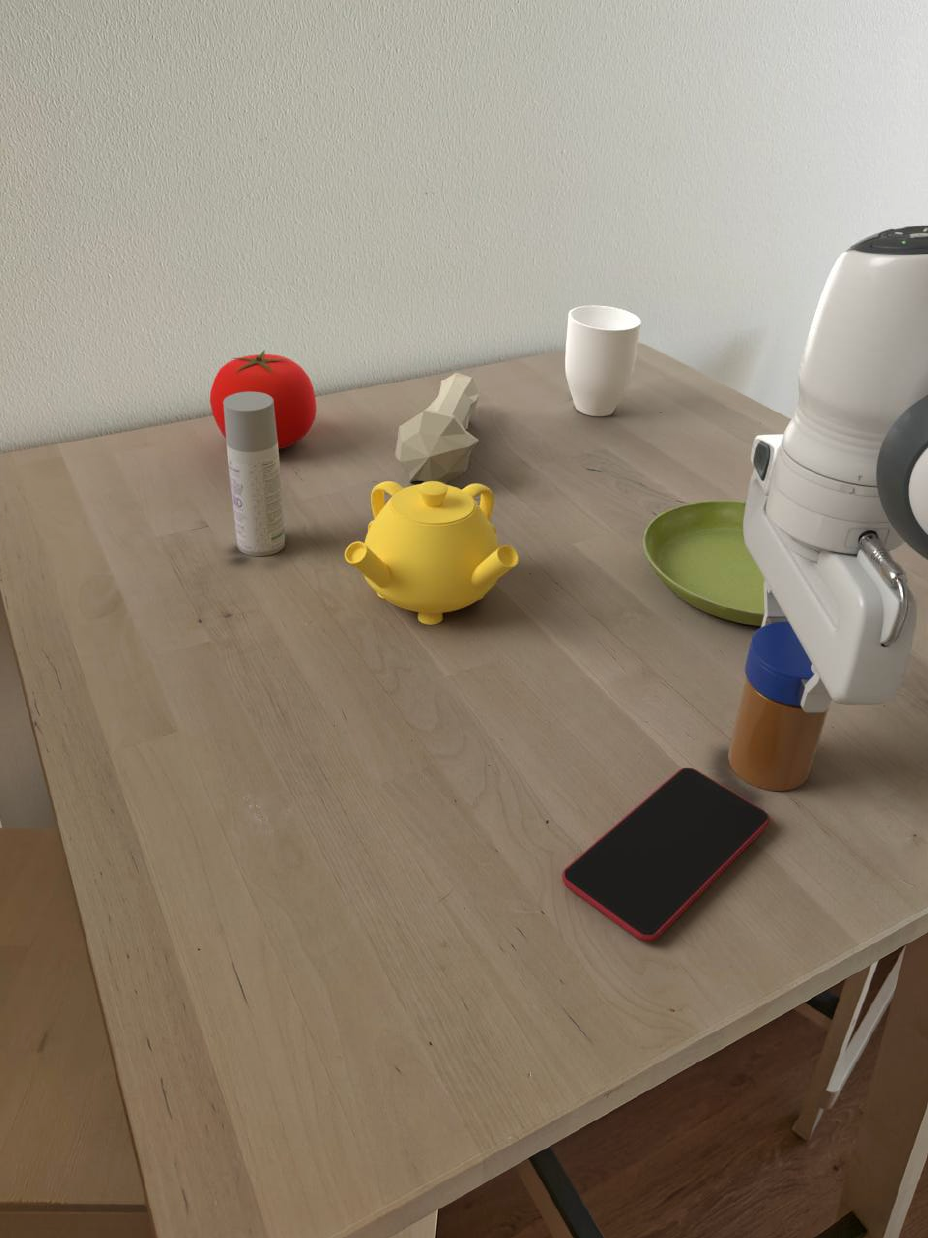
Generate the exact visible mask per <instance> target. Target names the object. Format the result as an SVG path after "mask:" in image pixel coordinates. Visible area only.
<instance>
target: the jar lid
mask: <svg viewBox="0 0 928 1238" xmlns="http://www.w3.org/2000/svg"><path fill="white" fill-rule="evenodd" d="M811 666H812V662H811V661H810V659H809V657H808V655H807V653H806V652H805V650H804V648H803V646H802V645H801V643H800V641H799V639H798V637H797V636H796V634H795V632H794V630H793V629H792V627H791V625H790V623H789V622H777V623H772V624H768V625H765V626H763V627H761V626H760V628H758V629H757V630H756V631H754V633H753V635H752V637H751V639H750V644H749V647H748V652H747V657H746V662H745V666H744V673H745V678H746V677H747V679H748V681H749V682H750V683H751V685H752V686H753V687H754V688H755V689H756V690H758V691H759V692H760V693H762V694H763V695H765V696H767V697H768V698H771V699H773V700H775V701H778V702H781V703H784V704H789V705H794V706H801V705H800V702H799V700H798V698H797V696H796V693H797V691H798V686H799V683H800V679H811V678H812V677H813V675H814V673H813V672H812V670H811Z"/></svg>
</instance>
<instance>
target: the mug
mask: <svg viewBox="0 0 928 1238" xmlns="http://www.w3.org/2000/svg"><path fill="white" fill-rule="evenodd" d="M567 315H568V318H567V329H566V331H567V332H566V342H565V343H566V344H565V356H564V357H565V359H564V360H565V361H564V364H565V365H564V370H565V376H566V377H565V378H566V380H567V384H568V389H569V391H570V394H571V397H572V401H573V404H574V407H575V409H576V410H577V411H578V412H580V413H581V414H584V415H587V416H592V417H606V416H610V415H612V414H613V413H614V412H615V410H616V408H617V407H618V405H619V403H620V402H621V400H622V398H623V397H624V395H625V393H626V391H627V390H628V388H629V387H630V385H631V382H632V380H633V378H634V377H633V376H634V372H635V367H636V360H637V353H638V346H639V339H640V338H639V337H640V330H641V318H639V317H638V316H637V315H636V314H634V313H633V312H630V311H628V310H625V309H621V308H618V307H614V306H607V305H582V306H577V307H575V308H573V309H571V310H569V312H568V314H567Z"/></svg>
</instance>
